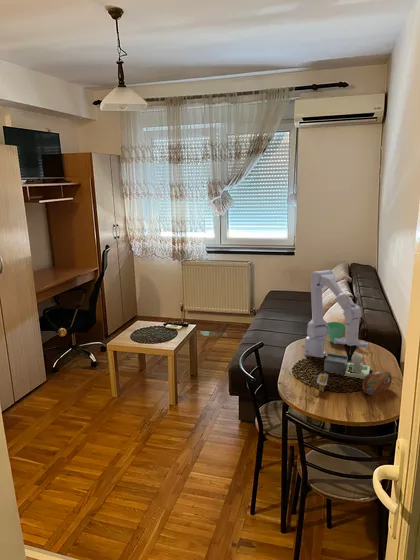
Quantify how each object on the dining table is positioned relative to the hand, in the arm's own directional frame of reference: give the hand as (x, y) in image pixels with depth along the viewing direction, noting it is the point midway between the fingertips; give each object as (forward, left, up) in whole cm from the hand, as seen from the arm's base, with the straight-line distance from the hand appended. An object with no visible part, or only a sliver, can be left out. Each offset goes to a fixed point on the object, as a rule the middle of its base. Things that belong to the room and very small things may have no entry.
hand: (349, 359), depth 187 cm
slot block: (-6, 0, -6) cm, 8 cm away
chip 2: (+2, 0, -3) cm, 3 cm away
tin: (+13, -15, -6) cm, 20 cm away
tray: (+4, 0, -6) cm, 7 cm away
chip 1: (+3, 0, -1) cm, 3 cm away
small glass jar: (-8, -22, -7) cm, 24 cm away
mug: (-9, +37, -6) cm, 39 cm away
